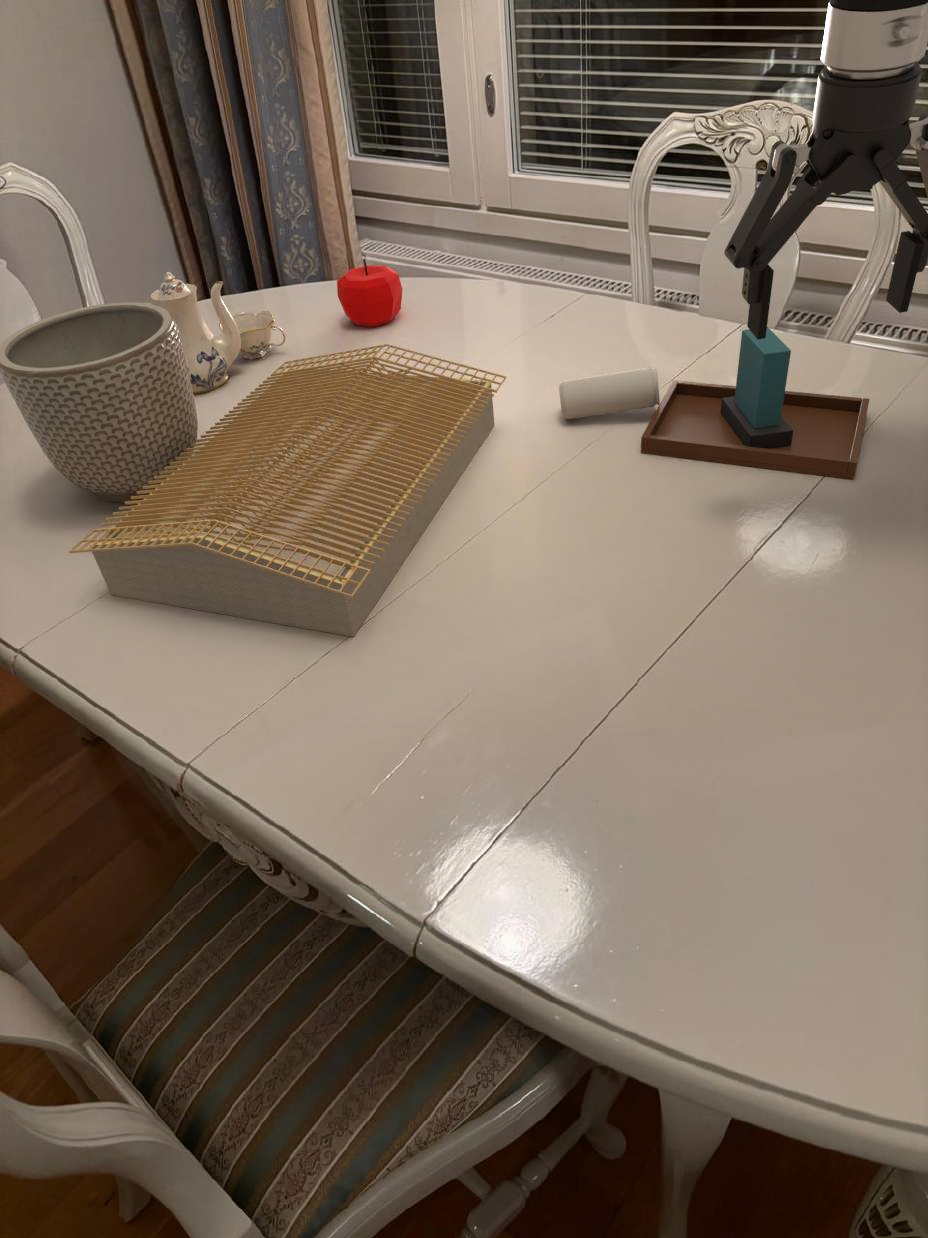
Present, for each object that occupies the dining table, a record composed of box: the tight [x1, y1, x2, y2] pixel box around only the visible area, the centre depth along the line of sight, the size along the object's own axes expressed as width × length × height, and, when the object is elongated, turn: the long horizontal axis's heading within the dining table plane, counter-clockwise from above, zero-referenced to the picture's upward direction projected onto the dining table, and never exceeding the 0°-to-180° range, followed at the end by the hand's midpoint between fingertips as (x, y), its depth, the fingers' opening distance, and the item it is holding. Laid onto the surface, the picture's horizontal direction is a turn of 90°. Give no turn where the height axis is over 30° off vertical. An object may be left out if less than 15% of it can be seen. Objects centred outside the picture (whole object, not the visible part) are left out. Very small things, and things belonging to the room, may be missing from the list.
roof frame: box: [68, 343, 507, 638], centre depth 100 cm, size 45×32×10 cm
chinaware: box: [147, 271, 287, 395], centre depth 130 cm, size 28×17×17 cm, turn 111°
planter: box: [0, 301, 199, 504], centre depth 105 cm, size 20×20×19 cm
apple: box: [336, 252, 403, 328], centre depth 143 cm, size 11×11×10 cm
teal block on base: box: [720, 326, 793, 449], centre depth 102 cm, size 5×10×11 cm, turn 6°
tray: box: [640, 379, 871, 480], centre depth 105 cm, size 24×16×2 cm, turn 66°
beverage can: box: [558, 366, 661, 420], centre depth 111 cm, size 5×5×12 cm
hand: (826, 319), depth 84 cm, fingers open, 13 cm apart
